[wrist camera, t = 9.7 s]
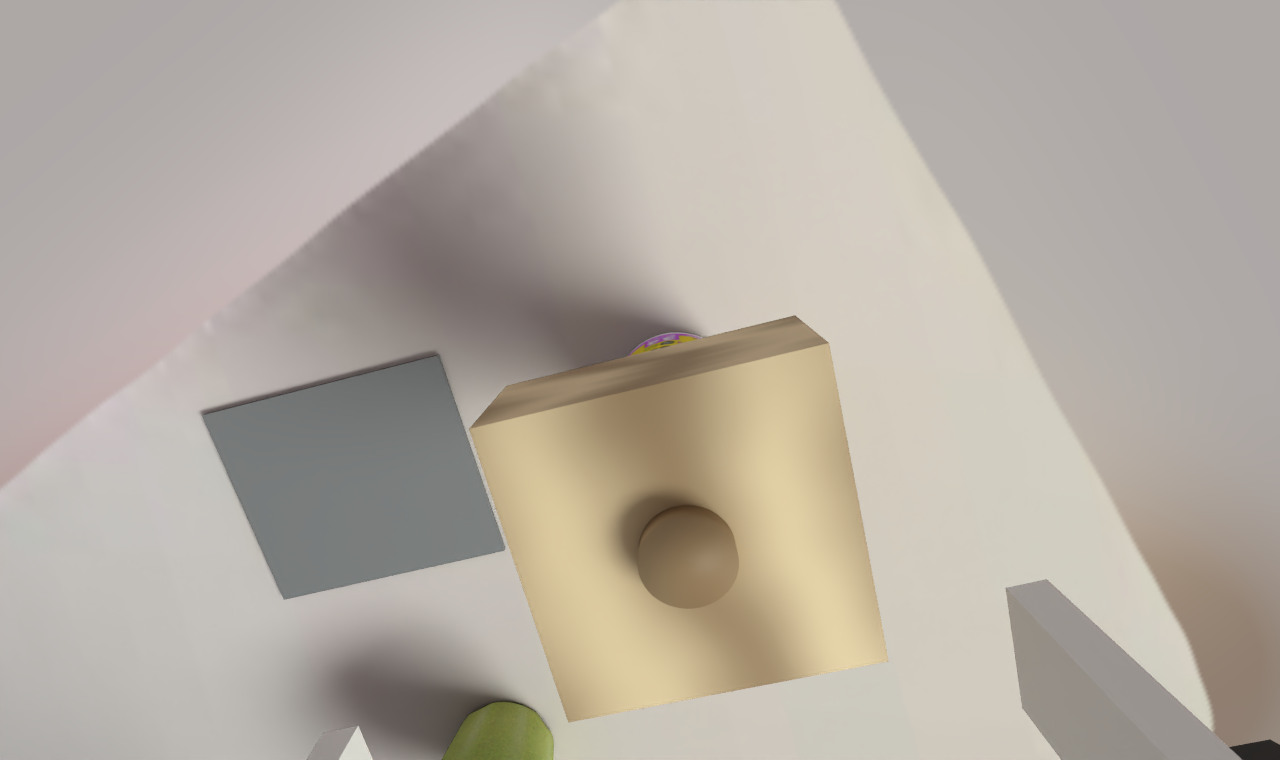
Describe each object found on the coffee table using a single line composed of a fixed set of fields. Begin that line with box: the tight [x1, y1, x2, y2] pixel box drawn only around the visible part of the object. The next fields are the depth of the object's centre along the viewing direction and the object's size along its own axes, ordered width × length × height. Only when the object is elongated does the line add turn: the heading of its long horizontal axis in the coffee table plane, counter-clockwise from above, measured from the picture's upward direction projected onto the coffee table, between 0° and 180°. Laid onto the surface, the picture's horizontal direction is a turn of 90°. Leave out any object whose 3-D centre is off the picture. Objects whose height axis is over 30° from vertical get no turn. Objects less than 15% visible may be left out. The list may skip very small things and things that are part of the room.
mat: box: [202, 355, 505, 600], centre depth 37 cm, size 14×12×1 cm
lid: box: [469, 316, 888, 722], centre depth 21 cm, size 10×10×5 cm
